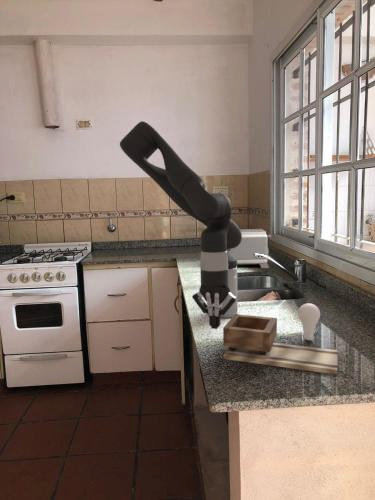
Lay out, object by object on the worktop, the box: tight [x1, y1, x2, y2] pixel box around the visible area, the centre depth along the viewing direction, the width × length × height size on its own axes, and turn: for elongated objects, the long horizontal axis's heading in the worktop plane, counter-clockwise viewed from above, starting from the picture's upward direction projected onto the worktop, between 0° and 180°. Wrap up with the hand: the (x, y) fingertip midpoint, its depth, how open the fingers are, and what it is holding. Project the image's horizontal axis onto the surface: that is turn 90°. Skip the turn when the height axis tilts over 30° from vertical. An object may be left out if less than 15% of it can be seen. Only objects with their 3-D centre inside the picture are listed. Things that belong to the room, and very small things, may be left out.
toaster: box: [231, 228, 272, 269], centre depth 226 cm, size 19×34×20 cm, turn 89°
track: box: [223, 342, 339, 376], centre depth 102 cm, size 28×12×2 cm, turn 69°
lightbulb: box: [297, 303, 321, 341], centre depth 112 cm, size 6×6×11 cm
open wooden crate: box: [222, 313, 278, 355], centre depth 105 cm, size 12×12×7 cm
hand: (215, 327), depth 108 cm, fingers closed
